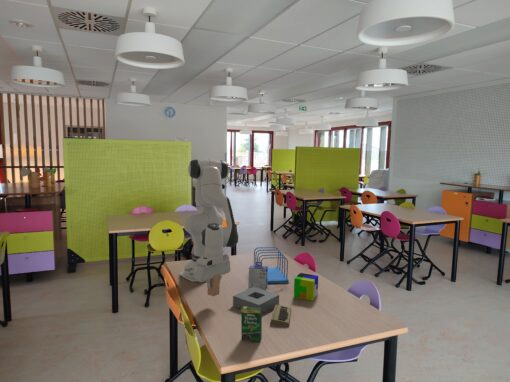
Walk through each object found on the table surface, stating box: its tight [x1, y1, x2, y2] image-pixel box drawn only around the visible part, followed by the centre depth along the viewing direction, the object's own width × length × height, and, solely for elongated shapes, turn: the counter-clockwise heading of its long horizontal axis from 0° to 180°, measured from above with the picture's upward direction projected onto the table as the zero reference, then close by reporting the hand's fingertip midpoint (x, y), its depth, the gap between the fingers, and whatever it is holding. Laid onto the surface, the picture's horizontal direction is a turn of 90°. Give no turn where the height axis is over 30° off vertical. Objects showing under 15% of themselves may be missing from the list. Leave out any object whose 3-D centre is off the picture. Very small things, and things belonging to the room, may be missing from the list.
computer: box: [270, 304, 292, 327], centre depth 162 cm, size 16×8×3 cm, turn 171°
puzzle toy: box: [293, 272, 319, 301], centre depth 188 cm, size 10×10×10 cm
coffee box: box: [240, 306, 263, 343], centre depth 141 cm, size 8×3×13 cm, turn 76°
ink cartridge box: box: [247, 261, 269, 291], centre depth 196 cm, size 10×6×14 cm, turn 78°
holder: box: [232, 287, 280, 315], centre depth 174 cm, size 16×16×5 cm
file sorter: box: [253, 246, 290, 284], centre depth 216 cm, size 25×17×15 cm
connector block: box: [207, 274, 221, 297], centre depth 172 cm, size 4×4×10 cm
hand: (213, 285), depth 172 cm, fingers closed on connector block, 4 cm apart
